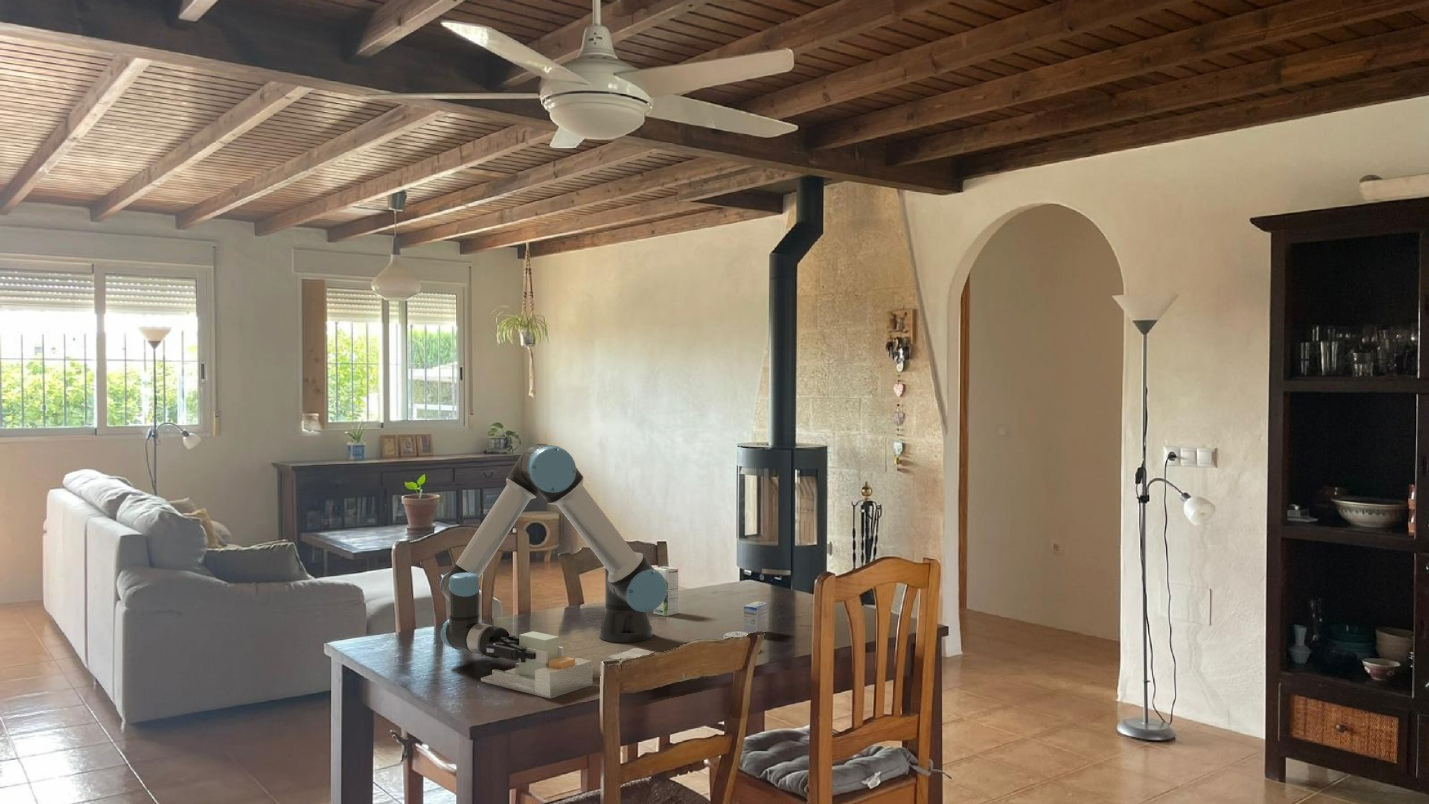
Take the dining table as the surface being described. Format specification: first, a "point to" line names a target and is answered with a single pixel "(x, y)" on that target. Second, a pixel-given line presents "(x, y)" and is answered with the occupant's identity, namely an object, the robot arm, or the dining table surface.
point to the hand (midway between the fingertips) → (554, 655)
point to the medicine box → (756, 617)
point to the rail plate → (519, 682)
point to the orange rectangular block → (561, 662)
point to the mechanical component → (735, 634)
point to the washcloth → (630, 654)
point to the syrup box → (669, 592)
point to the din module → (540, 643)
